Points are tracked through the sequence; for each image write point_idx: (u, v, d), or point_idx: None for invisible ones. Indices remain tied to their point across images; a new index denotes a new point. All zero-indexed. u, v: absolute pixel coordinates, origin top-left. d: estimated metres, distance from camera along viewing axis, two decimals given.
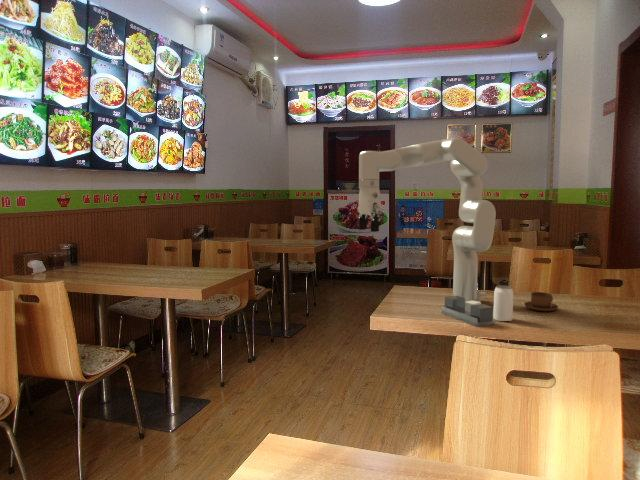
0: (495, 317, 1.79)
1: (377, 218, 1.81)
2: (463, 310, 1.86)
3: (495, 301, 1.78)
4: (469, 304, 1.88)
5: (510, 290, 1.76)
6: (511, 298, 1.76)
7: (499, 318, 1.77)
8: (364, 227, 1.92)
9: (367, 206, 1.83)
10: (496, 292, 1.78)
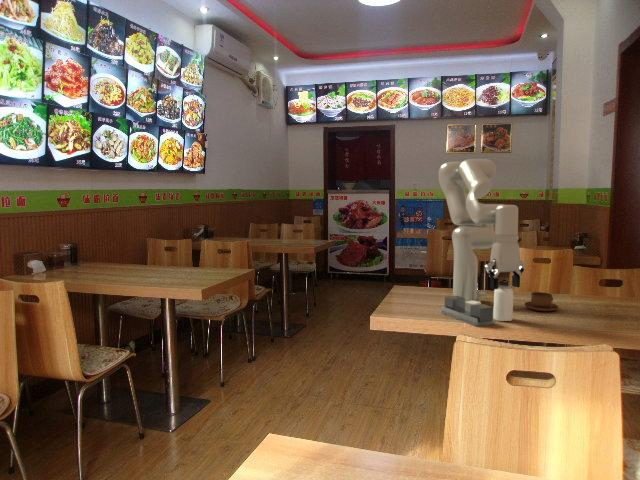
0: (495, 317, 1.79)
1: None
2: (463, 310, 1.86)
3: (495, 301, 1.78)
4: (469, 304, 1.88)
5: (510, 290, 1.76)
6: (511, 298, 1.76)
7: (499, 318, 1.77)
8: None
9: (517, 262, 1.76)
10: (496, 292, 1.78)
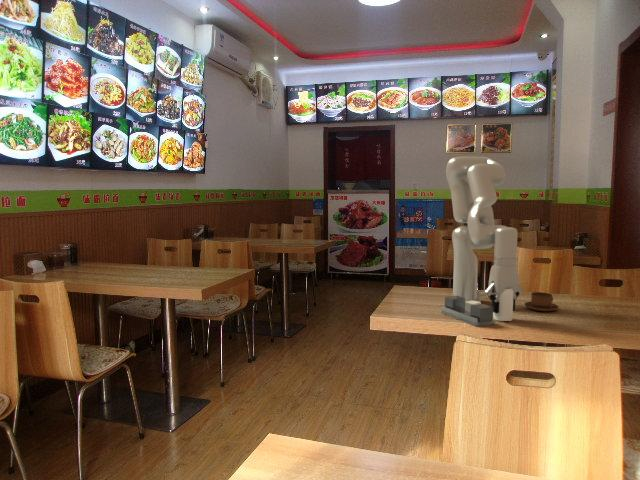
0: (495, 317, 1.79)
1: None
2: (463, 310, 1.86)
3: None
4: (469, 304, 1.88)
5: (510, 290, 1.76)
6: (511, 298, 1.76)
7: (499, 318, 1.77)
8: None
9: (515, 284, 1.78)
10: None
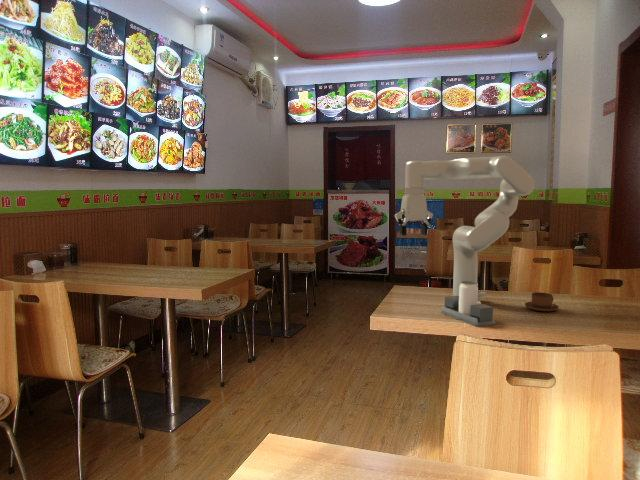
0: None
1: None
2: None
3: (460, 297, 1.80)
4: None
5: (474, 286, 1.78)
6: (475, 294, 1.78)
7: None
8: None
9: (424, 212, 1.99)
10: (461, 288, 1.79)
